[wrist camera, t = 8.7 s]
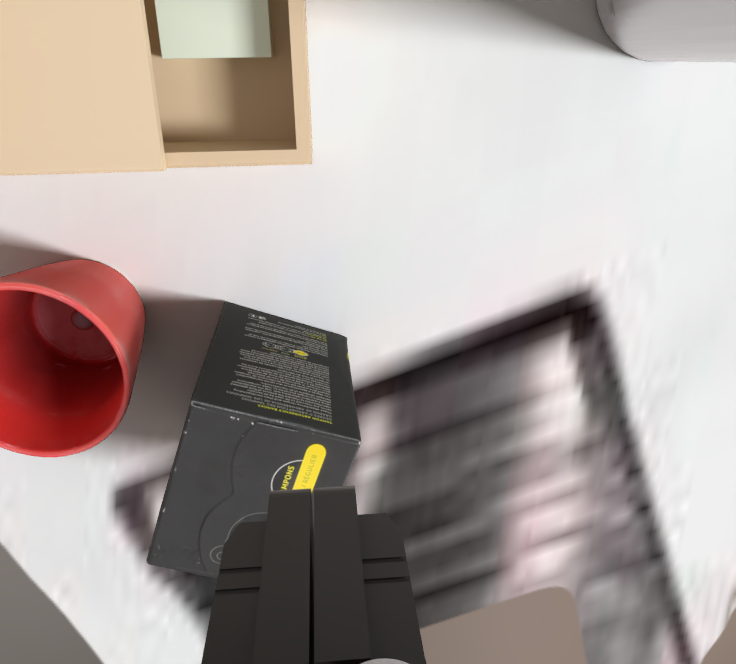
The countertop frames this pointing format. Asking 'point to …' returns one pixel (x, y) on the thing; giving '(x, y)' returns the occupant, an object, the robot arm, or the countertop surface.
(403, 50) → the countertop surface
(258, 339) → the tampon box
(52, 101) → the lid
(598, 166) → the countertop surface
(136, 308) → the flower pot
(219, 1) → the box
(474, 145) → the countertop surface
